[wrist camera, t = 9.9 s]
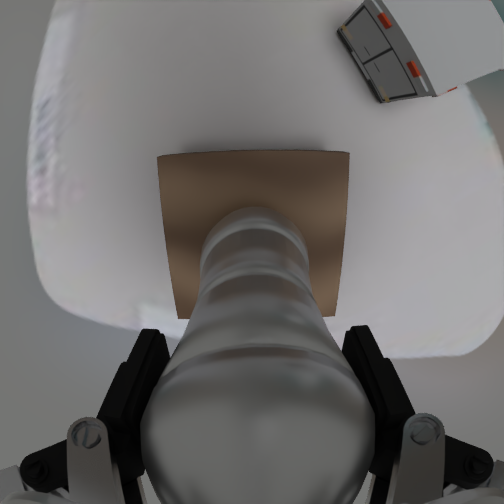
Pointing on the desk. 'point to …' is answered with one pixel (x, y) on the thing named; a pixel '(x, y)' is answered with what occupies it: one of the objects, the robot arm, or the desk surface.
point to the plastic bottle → (257, 383)
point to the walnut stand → (257, 195)
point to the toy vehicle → (424, 45)
